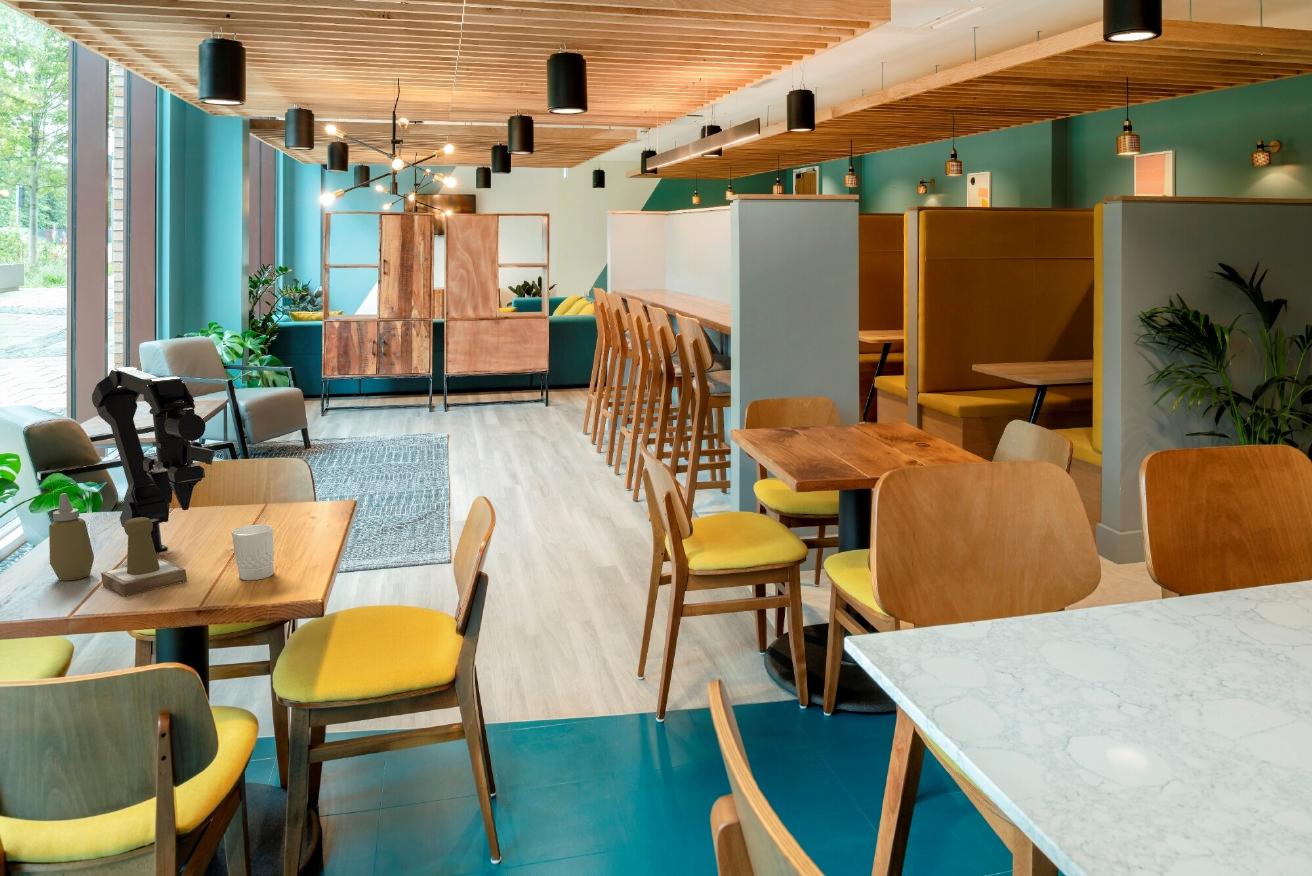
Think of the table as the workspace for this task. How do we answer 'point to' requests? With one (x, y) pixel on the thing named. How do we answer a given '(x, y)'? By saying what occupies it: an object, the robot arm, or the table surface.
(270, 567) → the white cup
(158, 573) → the walnut picture frame
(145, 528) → the cork
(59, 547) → the squeeze bottle
